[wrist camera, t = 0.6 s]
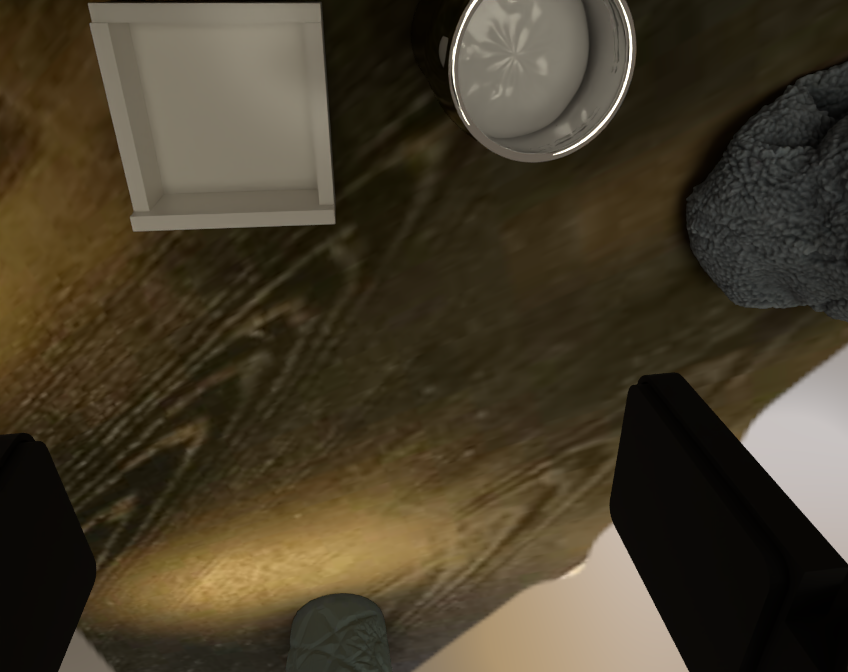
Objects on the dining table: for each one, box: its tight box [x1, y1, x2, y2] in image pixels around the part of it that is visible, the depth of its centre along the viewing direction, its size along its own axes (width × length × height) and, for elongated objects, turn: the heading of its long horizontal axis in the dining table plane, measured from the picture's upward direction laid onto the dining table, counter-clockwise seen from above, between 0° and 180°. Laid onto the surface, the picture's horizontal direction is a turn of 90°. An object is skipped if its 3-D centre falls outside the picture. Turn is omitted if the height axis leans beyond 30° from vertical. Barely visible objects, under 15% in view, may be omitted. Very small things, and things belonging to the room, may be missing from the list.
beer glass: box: [411, 0, 636, 163], centre depth 27 cm, size 7×7×15 cm
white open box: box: [88, 2, 335, 231], centre depth 32 cm, size 11×11×4 cm
